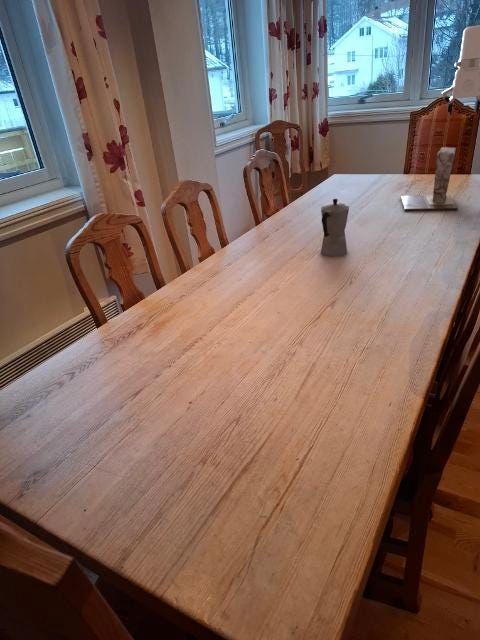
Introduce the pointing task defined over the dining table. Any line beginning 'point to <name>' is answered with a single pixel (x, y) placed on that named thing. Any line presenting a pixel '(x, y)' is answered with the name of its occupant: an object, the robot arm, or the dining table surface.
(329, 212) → the coffeepot
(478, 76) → the robot arm
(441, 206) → the board
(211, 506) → the dining table surface
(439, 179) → the stone block
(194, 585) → the dining table surface
